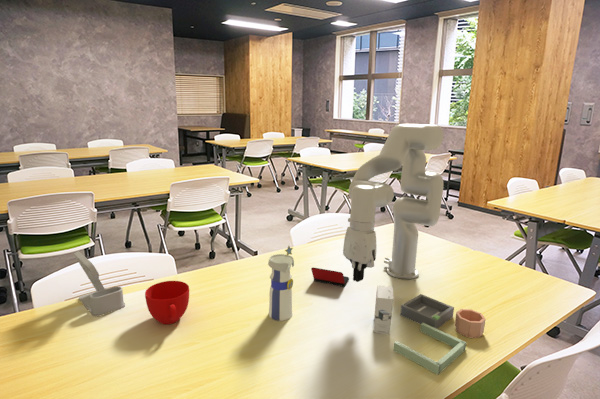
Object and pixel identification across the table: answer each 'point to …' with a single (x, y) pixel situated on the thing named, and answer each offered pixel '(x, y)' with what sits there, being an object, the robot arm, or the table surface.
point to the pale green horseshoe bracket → (427, 362)
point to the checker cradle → (427, 311)
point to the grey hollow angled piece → (99, 291)
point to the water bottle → (281, 286)
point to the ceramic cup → (167, 301)
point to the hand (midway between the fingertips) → (358, 279)
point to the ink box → (383, 309)
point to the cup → (469, 323)
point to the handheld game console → (329, 277)
